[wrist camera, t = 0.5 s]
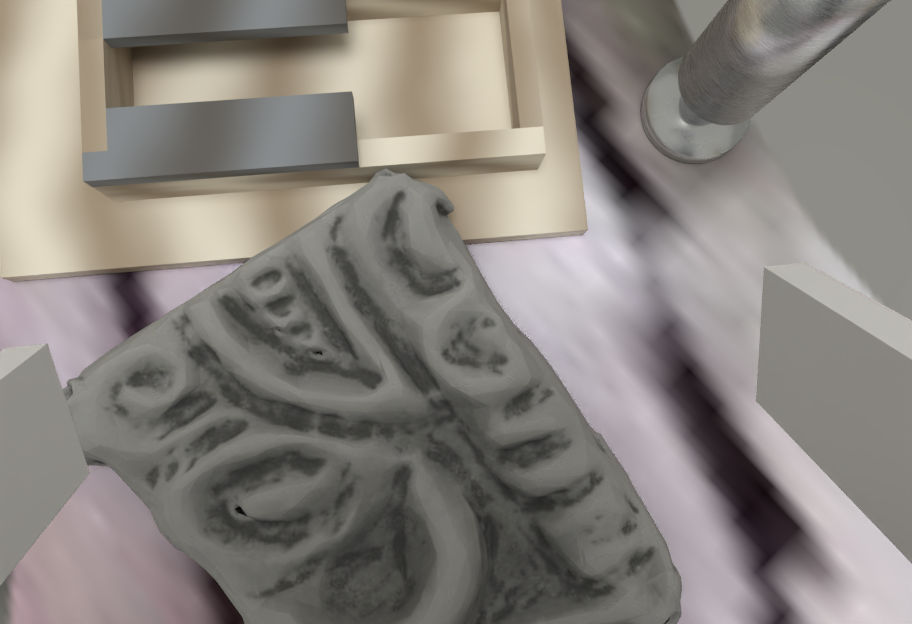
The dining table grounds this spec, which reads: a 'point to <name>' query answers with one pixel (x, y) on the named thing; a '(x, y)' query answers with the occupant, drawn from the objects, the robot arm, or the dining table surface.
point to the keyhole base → (403, 112)
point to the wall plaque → (373, 438)
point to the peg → (741, 70)
